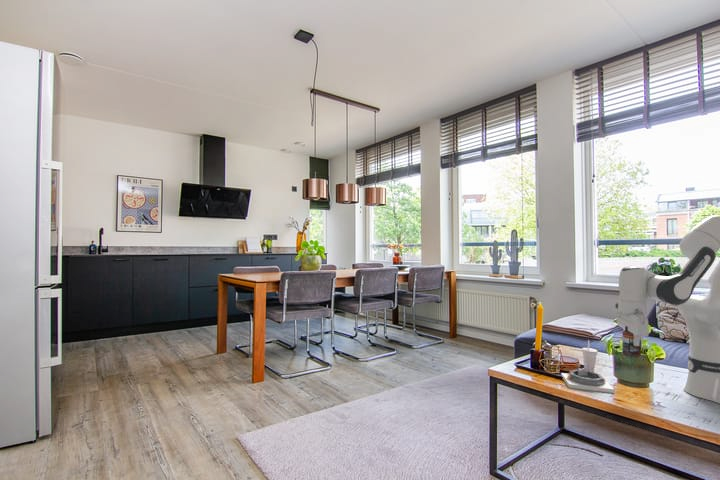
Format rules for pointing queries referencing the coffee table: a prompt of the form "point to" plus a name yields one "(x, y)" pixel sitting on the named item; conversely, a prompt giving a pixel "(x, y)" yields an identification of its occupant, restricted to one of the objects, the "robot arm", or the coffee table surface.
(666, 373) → the coffee table surface
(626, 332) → the supplement bottle
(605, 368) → the coffee table surface
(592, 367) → the smoothie
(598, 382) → the ring
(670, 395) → the coffee table surface
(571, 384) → the socket plate
